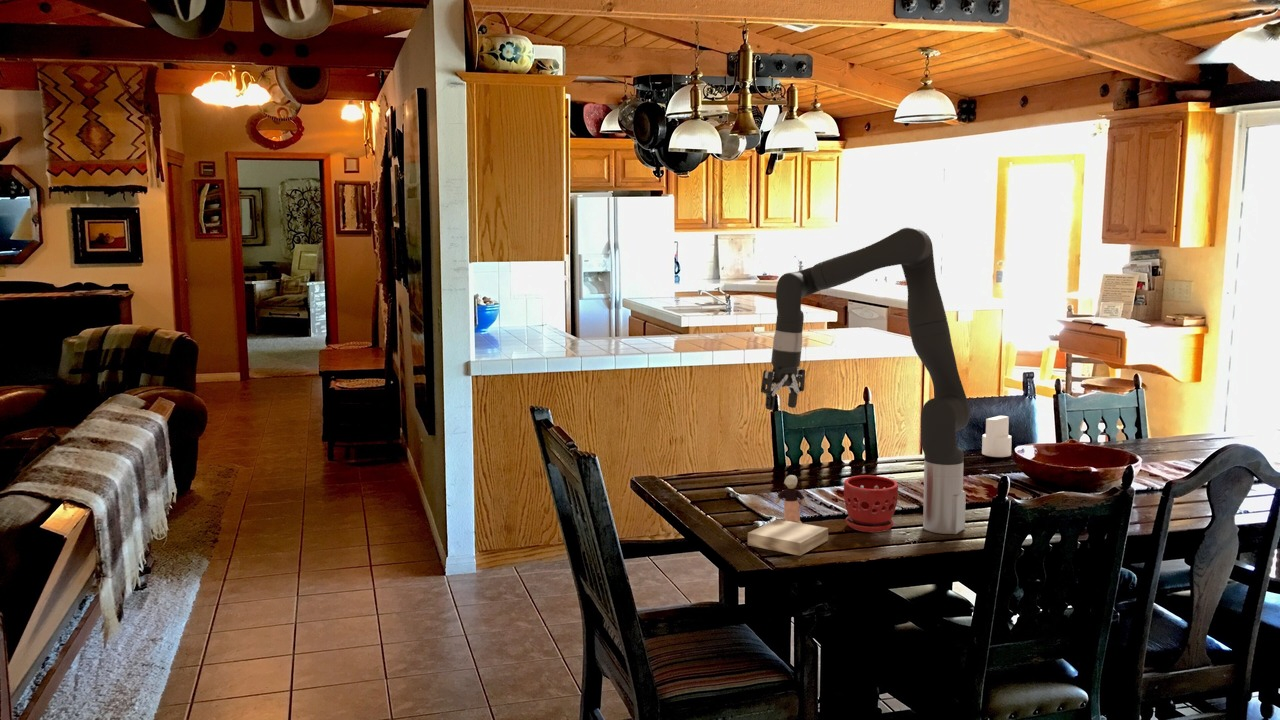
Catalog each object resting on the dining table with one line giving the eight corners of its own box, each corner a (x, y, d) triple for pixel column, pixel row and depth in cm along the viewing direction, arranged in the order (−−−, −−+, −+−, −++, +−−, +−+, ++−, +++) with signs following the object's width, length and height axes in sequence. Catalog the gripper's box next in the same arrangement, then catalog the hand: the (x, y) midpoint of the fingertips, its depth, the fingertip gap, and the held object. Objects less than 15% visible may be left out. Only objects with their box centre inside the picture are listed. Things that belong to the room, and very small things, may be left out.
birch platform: (828, 540, 245) (828, 528, 245) (800, 555, 234) (800, 543, 234) (777, 530, 254) (777, 519, 253) (747, 545, 243) (747, 532, 242)
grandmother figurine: (805, 522, 261) (805, 473, 259) (806, 526, 257) (806, 477, 255) (775, 521, 261) (775, 473, 260) (775, 526, 258) (775, 476, 256)
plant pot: (833, 528, 255) (833, 481, 253) (862, 517, 264) (863, 472, 262) (878, 539, 245) (879, 490, 244) (907, 527, 255) (908, 480, 253)
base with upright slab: (991, 449, 340) (992, 414, 338) (1016, 454, 333) (1017, 417, 331) (976, 453, 334) (977, 417, 332) (1001, 458, 327) (1002, 421, 326)
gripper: (779, 351, 261) (772, 413, 264) (815, 349, 270) (809, 409, 273) (757, 346, 267) (751, 407, 269) (794, 344, 276) (788, 403, 278)
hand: (780, 408), depth 271 cm, fingers open, 8 cm apart
